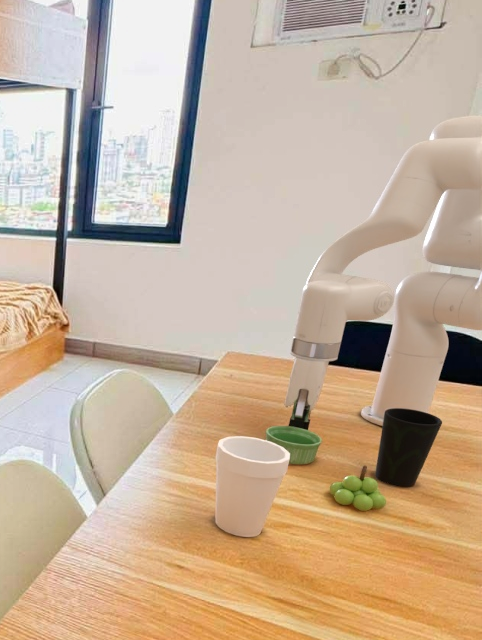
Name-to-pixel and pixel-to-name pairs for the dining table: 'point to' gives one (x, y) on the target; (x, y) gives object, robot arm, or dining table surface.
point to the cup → (405, 445)
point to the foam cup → (247, 483)
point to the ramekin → (295, 442)
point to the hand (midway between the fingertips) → (296, 437)
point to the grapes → (358, 492)
